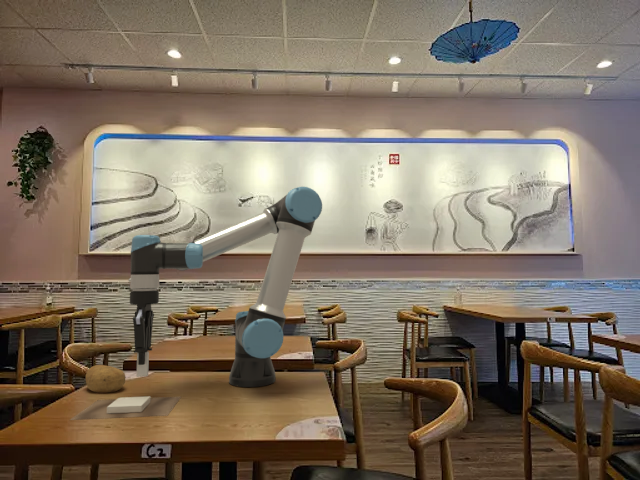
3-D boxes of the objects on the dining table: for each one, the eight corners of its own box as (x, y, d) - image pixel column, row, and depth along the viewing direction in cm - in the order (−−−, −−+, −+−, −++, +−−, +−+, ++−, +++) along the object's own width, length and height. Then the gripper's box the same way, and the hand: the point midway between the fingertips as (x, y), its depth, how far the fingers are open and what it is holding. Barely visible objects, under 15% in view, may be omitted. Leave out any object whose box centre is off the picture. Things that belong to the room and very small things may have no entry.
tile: (150, 396, 108) (141, 405, 100) (150, 402, 107) (141, 412, 99) (118, 397, 106) (106, 407, 99) (118, 404, 106) (106, 414, 98)
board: (181, 400, 113) (181, 396, 113) (167, 420, 97) (167, 415, 97) (97, 404, 110) (97, 399, 110) (69, 425, 94) (69, 419, 94)
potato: (102, 401, 113) (103, 372, 114) (76, 394, 120) (77, 366, 121) (134, 393, 121) (135, 365, 122) (108, 386, 128) (109, 360, 129)
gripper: (137, 289, 120) (134, 371, 118) (123, 290, 107) (120, 382, 105) (163, 289, 121) (161, 370, 119) (153, 290, 108) (150, 381, 106)
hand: (142, 375), depth 112 cm, fingers closed
